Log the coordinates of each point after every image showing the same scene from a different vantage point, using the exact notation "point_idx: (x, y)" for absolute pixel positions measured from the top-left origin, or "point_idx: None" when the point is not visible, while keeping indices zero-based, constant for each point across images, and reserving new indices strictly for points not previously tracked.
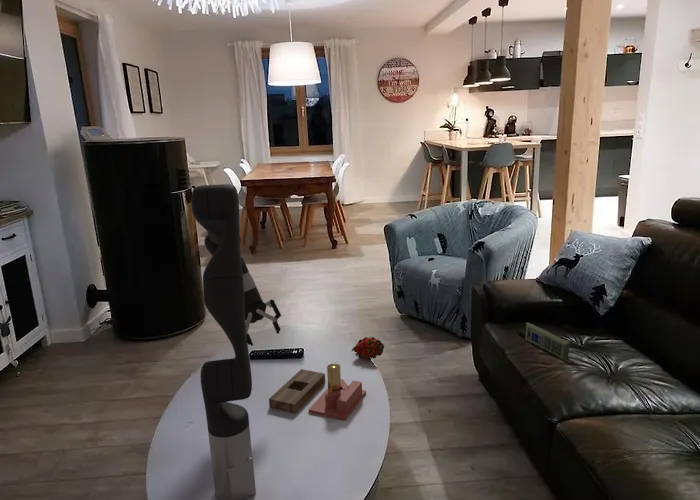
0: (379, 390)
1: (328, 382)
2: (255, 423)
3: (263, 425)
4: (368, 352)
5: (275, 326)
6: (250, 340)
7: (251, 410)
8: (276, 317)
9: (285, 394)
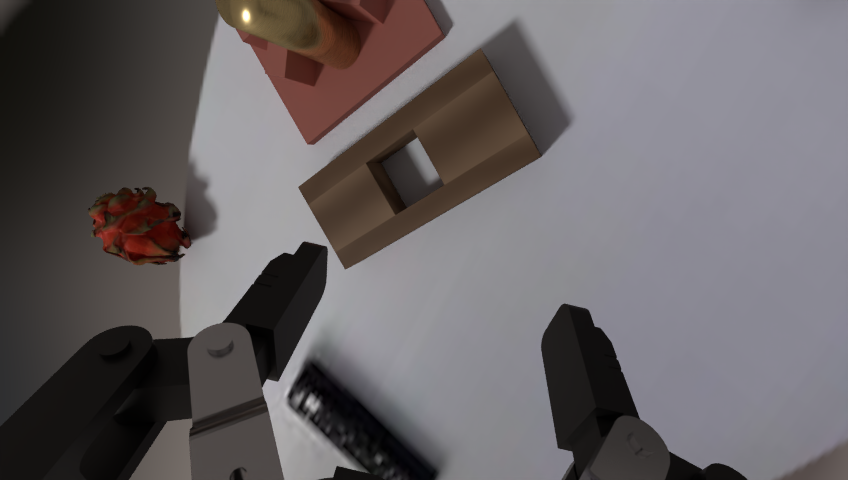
0: (218, 33)
1: (315, 16)
2: (647, 83)
3: (629, 50)
4: (148, 200)
5: (285, 290)
6: (586, 342)
7: (608, 182)
8: (176, 362)
9: (471, 144)
